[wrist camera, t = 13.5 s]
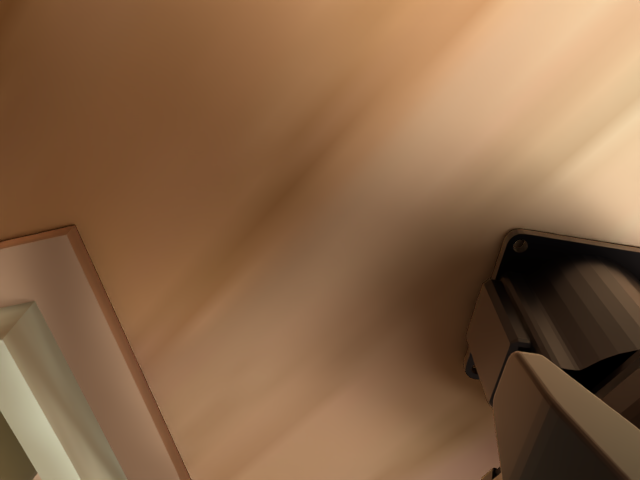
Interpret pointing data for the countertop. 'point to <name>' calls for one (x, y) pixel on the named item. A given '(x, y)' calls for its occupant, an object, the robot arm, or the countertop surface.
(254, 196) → the countertop surface
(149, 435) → the shaker holder
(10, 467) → the cork
